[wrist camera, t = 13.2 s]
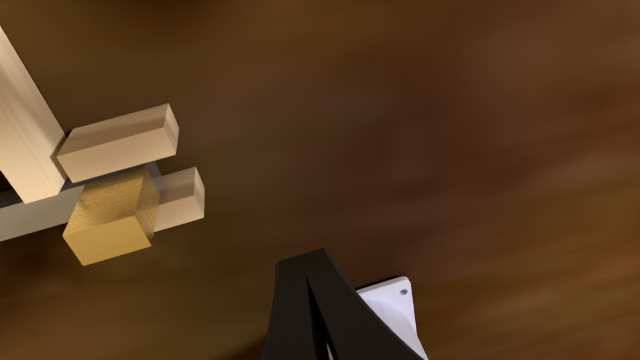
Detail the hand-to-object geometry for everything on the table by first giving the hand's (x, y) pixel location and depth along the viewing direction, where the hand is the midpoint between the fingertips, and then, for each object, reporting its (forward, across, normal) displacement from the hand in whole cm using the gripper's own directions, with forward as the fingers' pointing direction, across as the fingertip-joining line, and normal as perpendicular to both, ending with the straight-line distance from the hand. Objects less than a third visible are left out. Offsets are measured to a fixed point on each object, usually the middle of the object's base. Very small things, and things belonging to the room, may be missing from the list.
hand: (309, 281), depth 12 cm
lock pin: (+9, +10, 0) cm, 14 cm away
